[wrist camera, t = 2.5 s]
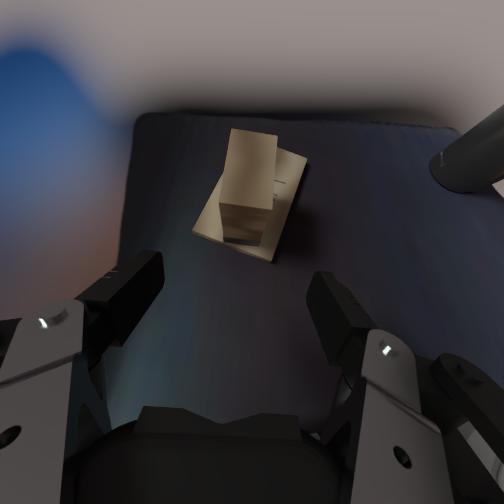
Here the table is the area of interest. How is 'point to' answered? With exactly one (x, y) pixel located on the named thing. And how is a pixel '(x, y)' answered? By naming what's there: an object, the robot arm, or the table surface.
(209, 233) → the board
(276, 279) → the table surface
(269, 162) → the block
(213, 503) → the robot arm
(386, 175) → the table surface
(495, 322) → the table surface
